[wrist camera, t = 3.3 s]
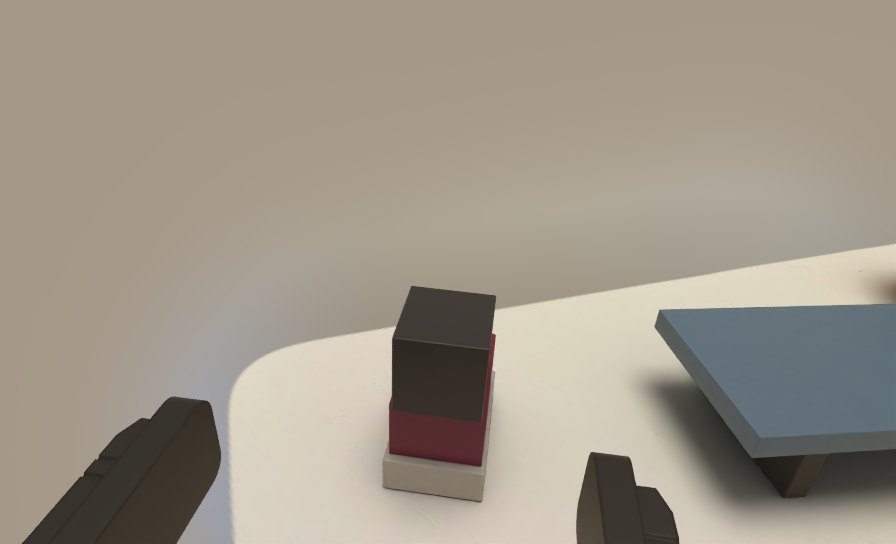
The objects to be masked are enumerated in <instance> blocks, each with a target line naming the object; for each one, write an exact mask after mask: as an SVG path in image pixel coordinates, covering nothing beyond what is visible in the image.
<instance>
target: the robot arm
mask: <svg viewBox="0 0 896 544" xmlns="http://www.w3.org/2000/svg"><path fill="white" fill-rule="evenodd" d="M220 461H221V450H220V445H219V440H218V435H217V431H216V426H215V421H214V416H213V412H212V408H211V405H210V403H209V402H208V401H204V400H196V399H188V398H181V397H170V398H168V399H167V400H166V401H165V402H164V403H163V404H162V405H161V407H160V408H159V409H158V410H157V411H156V413H155V414H154V415H153V416H152V418H151V419H145V418H141V419H139V420H138V421H136V422H135V423H133V424H132V425H130V426H129V427H128V428H126V429H125V430H123V431H122V432H120V433H119V434H117V435H116V436H115V437H114V438H113V440H112V441H111V442H110V443H109V444H108V445H107V446H106V448H105V449H104V450H103V451H102V452H101V453H100V455H99V458H98V460H95V461H94V462H93V463H92V464H91V465H90V466H89V467H88V468H87V470H86V471H85V472H84V476H83V477H80V478H79V479H78V480H77V481H76V482H75V483H74V485H73V486H72V487H71V488H70V489H69V490H68V491H67V493H66V494H65V495H64V496H63V497H62V498H61V499H60V501H59V502H58V503H57V504H56V505H55V507H54V508H53V509H52V510H51V511H50V512H49V513H48V514H47V516H46V517H45V518H44V519H43V520H42V521H41V523H40V524H39V525H38V526H37V527H36V528H35V530H34V531H33V532H32V533H31V534H30V535H29V536H28V538H27V539H26V540H25V541H24V542H23V543H22V544H176V543H177V542H178V540H179V538H180V537H181V535H182V533H183V532H184V530H185V529H186V527H187V525H188V524H189V522H190V520H191V519H192V517H193V515H194V514H195V512H196V510H197V509H198V507H199V505H200V504H201V502H202V500H203V499H204V497H205V495H206V494H207V492H208V490H209V489H210V487H211V486H212V484H213V482H214V480H215V478H216V476H217V473H218V470H219V467H220ZM576 533H577V544H679V536H678V532H677V528H676V524H675V520H674V516H673V512H672V511H671V509H670V508H669V507H668V505H667V504H666V502H665V501H664V499H663V498H662V496H661V495H660V493H659V492H658V491H657V489H656V488H650V487H642V486H636V483H635V478H634V472H633V467H632V463H631V460H630V458H629V457H627V456H619V455H611V454H603V453H596V452H591V453H590V455H589V458H588V463H587V467H586V471H585V476H584V480H583V484H582V489H581V493H580V497H579V502H578V508H577V521H576Z"/></svg>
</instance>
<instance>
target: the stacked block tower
mask: <svg viewBox="0 0 896 544" xmlns="http://www.w3.org/2000/svg"><path fill="white" fill-rule="evenodd" d="M495 302H496V296H494V295H486V294H477V293H469V292H460V291H451V290H443V289H434V288H425V287H416V286H411V288H410V291H409V294H408V297H407V299H406V302H405V305H404V308H403V311H402V313H401V316H400V319H399V322H398V324H397V327H396V329H395V332H394V335H393V338H392V397H391V400H390V403H389V441H388V445H387V448H386V451H385V455H384V458H383V487H386V488H393V489H399V490H406V491H413V492H420V493H427V494H434V495H440V496H447V497H454V498H461V499H468V500H474V501H482V498H483V490H484V481H485V473H486V462H487V452H488V441H489V431H490V420H491V409H492V399H493V388H494V378H495V371H492V367H493V357H494V347H495V337H496V335H495V334H492V329H493V320H494V311H495Z"/></svg>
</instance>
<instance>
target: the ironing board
mask: <svg viewBox="0 0 896 544" xmlns="http://www.w3.org/2000/svg"><path fill="white" fill-rule="evenodd" d="M655 328H656V330H657V331H658V332H659V334H660V335H661V337H662V338H663V339H664V341H665V342H666V343H667V345H668V346H669V347H670V349H671V350H672V351H673V353H674V354H675V355H676V357H677V358H678V359H679V361H680V362H681V364H682V365H683V366H684V368H685V369H686V370H687V372H688V373H689V374H690V376H691V377H692V378H693V380H694V381H695V382H696V384H697V385H698V387H699V388H700V389H701V391H702V392H703V393H704V395H705V396H706V397H707V399H708V400H709V401H710V403H711V404H712V405H713V407H714V408H715V409H716V411H717V412H718V414H719V415H720V416H721V418H722V419H723V420H724V422H725V423H726V424H727V426H728V427H729V428H730V430H731V431H732V432H733V434H734V435H735V437H736V438H737V439H738V441H739V442H740V443H741V445H742V446H743V447H744V449H745V450H746V451H747V453H748V454H749V455H750V457H751V458H754V459H755V461H756V462H757V463H758V465H759V466H760V467H761V469H762V470H763V471H764V473H765V474H766V475H767V477H768V478H769V479H770V481H771V482H772V483H773V485H774V486H775V488H776V489H777V490H778V492H779V493H780V494H781V496H782V497H783V498H791V497H805V496H806V495H807V493H808V491H809V489H810V487H811V485H812V484H813V482H814V480H815V478H816V476H817V474H818V473H819V471H820V469H821V467H822V465H823V463H824V461H825V460H826V458H827V456H828V454H829V453H841V452H857V451H874V450H890V449H896V304H872V305H832V306H791V307H751V308H711V309H670V310H659V313H658V317H657V320H656V324H655Z"/></svg>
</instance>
